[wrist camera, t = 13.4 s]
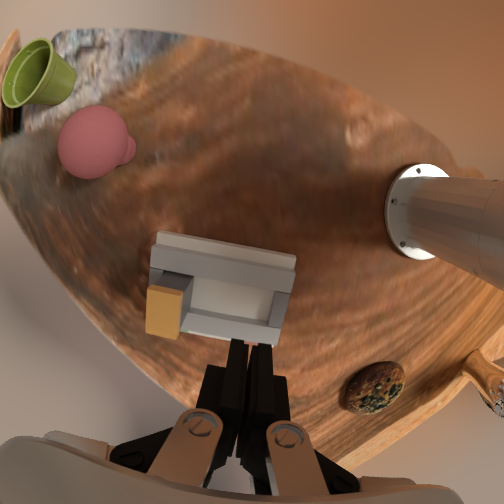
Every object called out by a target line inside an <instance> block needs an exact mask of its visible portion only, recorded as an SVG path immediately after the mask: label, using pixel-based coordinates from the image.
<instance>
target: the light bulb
mask: <svg viewBox="0 0 504 504" xmlns="http://www.w3.org/2000/svg"><path fill="white" fill-rule="evenodd" d="M57 150H58V155H59V159H60V161H61V163H62V165H63V166H64V168H65V169H66V170H67V171H68V172H69V173H71V174H72V175H74V176H76V177H79V178H82V179H95V178H99V177H102V176H104V175H106V174H108V173H109V172H111V171H112V170H113V169H114V168H115V167H116V166H117V165H122V164H126V163H128V162H129V161H130V160H131V159H132V158H133V156H134V155H135V152H136V143H135V141H134V139H133V138H132V137H131V136H129V135H128V132H127V127H126V125H125V122H124V120H123V119H122V118H121V116H120V115H119V114H118V113H117V112H116V111H114V110H112V109H111V108H109V107H105V106H100V105H93V106H88V107H85V108H82V109H80V110H78V111H77V112H75V113H74V114H73V115H71V116H70V117H69V118H68V120H67V121H66V122H65V123H64V125H63V127H62V129H61V131H60V133H59V137H58V143H57Z"/></svg>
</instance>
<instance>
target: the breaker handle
mask: <svg viewBox="0 0 504 504" xmlns="http://www.w3.org/2000/svg"><path fill="white" fill-rule="evenodd" d="M193 283H194V276H192V275H187V274H182V273H177V272H172V271H166V272H165V273H164V274H163V275H162V276H161V278H160V279H159V280H158V281H157V282H156V283H155V284H154V285H152V284H151V285H150V286H149V287H148V289H147V303H146V333H149V334H152V335H156V336H161V337H165V338H169V339H173V340H177V337H178V335H179V330H180V328H181V326H182V324H183V321H184V319H185V317H186V315H187V313H188V310H189V308H190V306H191V298H192V291H193Z"/></svg>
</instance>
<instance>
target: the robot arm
mask: <svg viewBox="0 0 504 504" xmlns="http://www.w3.org/2000/svg"><path fill="white" fill-rule="evenodd" d="M391 200H392V203H391ZM384 215H385V224H386V229H387V232H388V235H389V237H390V239H391V241H392V242H393V244H394V246H395V247H396V248H397V249H398V250H399V251H400V252H402V253H403V254H404V255H406V256H408V257H410V258H412V259H416V260H427V259H431V258H433V257H435V256H436V257H438V258H440V259H442V260H444V261H447V262H449V263H451V264H453V265H455V266H457V267H459V268H461V269H463V270H465V271H467V272H469V273H470V274H472V275H474V276H476V277H478V278H480V279H482V280H484V281H486V282H488V283H489V284H491V285H493V286H495V287H497V288H499V289H501V290H503V291H504V180H494V179H482V178H467V177H448V175H447V174H446V173H444V172H443V171H442V170H441V169H439V168H438V167H436V166H433V165H430V164H415V165H412V166H409V167H407V168H405V169H404V170H402V171H401V172H400V173H399V174H398V175H397V176H396V178H395V179H394V181H393V182H392V184H391V186H390V188H389V190H388V193H387V197H386V201H385V209H384ZM400 243H401V244H400ZM248 351H249V344H244V340H241V339H235V338H231V344H230V349H229V354H228V360H227V365H226V368H225V367H219V366H214V365H209V364H208V365H207V368H206V372H205V375H204V379H203V383H202V386H201V390H200V393H199V397H198V401H197V404H196V408H194V409H189V410H187V411H185V412H183V413H182V414H181V415H180V417H179V418H178V420H177V422H176V424H175V425H174V427H171V428H168V429H166V430H163V431H160V432H157V433H154V434H151V435H148V436H145V437H142V438H139V439H136V440H132V441H129V442H126V443H122V444H120V445H118V446H111V445H108V442H103V441H97V440H93V439H89V438H84V437H80V436H76V435H72V434H69V433H65V432H61V431H51V432H48V433H47V434H45V435H44V437H43V438H39V437H33V436H17V437H14V438H11V439H9V440H8V441H6V442H5V443H4V444H2V445H1V446H0V504H464V503H463V501H462V500H461V498H460V497H459V495H458V494H457V493H456V492H455V491H454V490H452V489H450V488H448V487H444V486H440V485H430V484H416V483H415V482H414V481H413V480H411V479H408V478H389V477H388V478H387V477H369V476H362V477H361V478H356V477H355V476H354V475H353V474H351V473H350V472H348V471H347V470H345V469H343V468H342V467H340V466H339V465H337V464H336V463H334V462H332V461H331V460H329V459H328V458H326V457H325V456H323V455H322V454H320V453H319V452H317V451H316V450H315V449H313V446H312V443H311V440H310V438H309V435H308V433H307V431H306V429H304V428H303V427H302V426H301V425H299V424H298V423H295V422H292V421H291V419H290V409H289V399H288V390H287V380H286V377H285V376H277V375H273V359H272V345H271V344H265V343H258V346H256V345H253V346H252V351H251V355H250V360H249V364H248V368H247V363H248ZM237 434H238V437H237ZM236 438H237V447H236V448H237V449H236V458H241V461H240V465H242V466H243V468H244V469H246V470H247V471H248V472H249V473H250V475H249V480H250V486H251V493H252V494H242V493H234V492H226V491H219V490H213V489H208V487H209V485H210V482H211V479H212V477H213V474H214V470H216V469H218V468H220V467H222V466H224V465H225V463H226V459H227V456H229V457H231V456H232V452H233V449H234V445H235V441H236Z"/></svg>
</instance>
